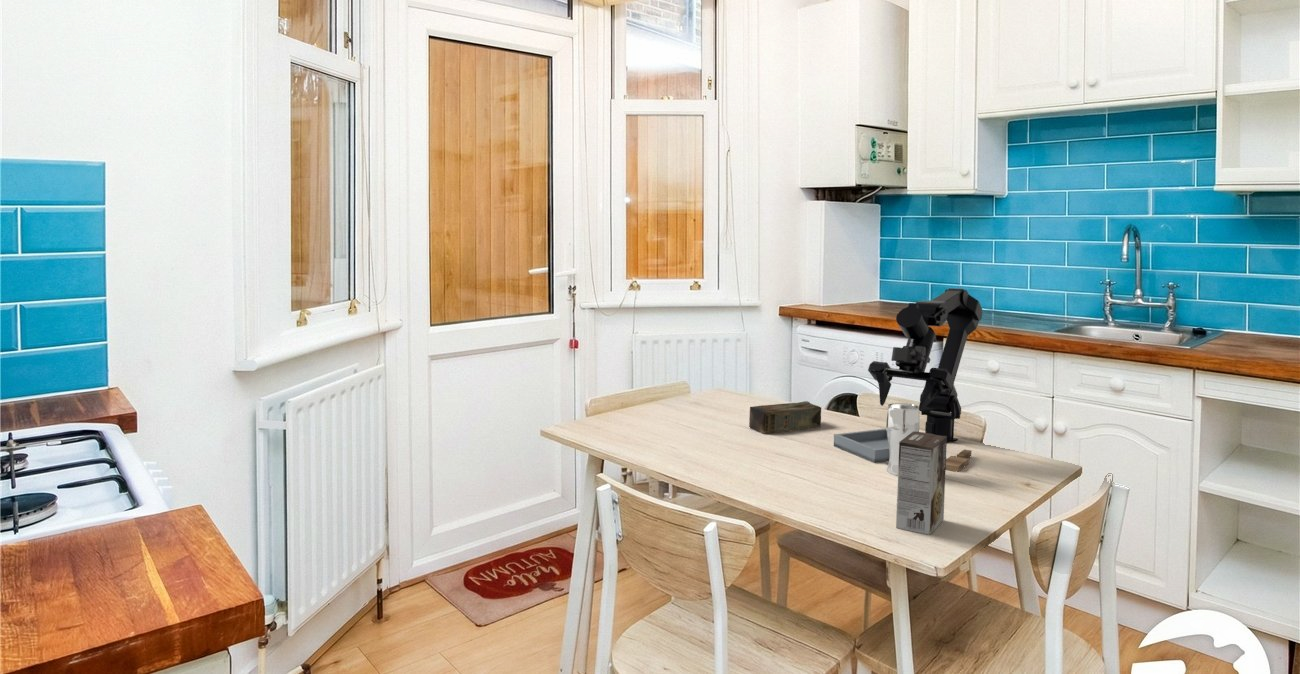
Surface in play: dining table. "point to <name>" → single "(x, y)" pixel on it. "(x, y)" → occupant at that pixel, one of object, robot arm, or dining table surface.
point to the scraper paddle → (958, 461)
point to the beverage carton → (784, 417)
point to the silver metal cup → (899, 429)
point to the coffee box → (921, 482)
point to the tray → (865, 444)
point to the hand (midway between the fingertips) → (900, 407)
